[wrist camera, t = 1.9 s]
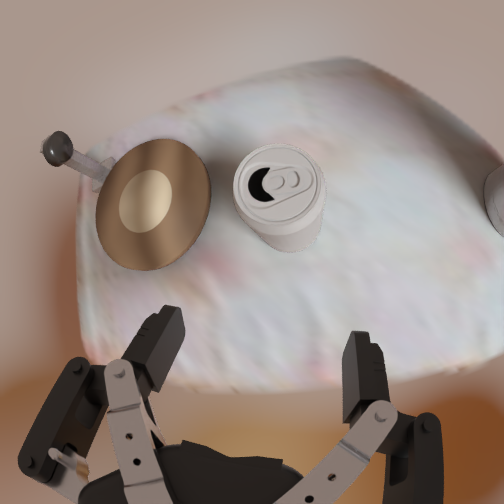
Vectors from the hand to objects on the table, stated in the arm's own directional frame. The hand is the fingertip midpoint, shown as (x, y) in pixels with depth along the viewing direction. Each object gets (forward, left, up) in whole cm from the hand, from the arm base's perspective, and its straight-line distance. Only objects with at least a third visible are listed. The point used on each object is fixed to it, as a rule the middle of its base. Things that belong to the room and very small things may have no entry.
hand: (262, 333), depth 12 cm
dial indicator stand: (+21, -23, -16) cm, 35 cm away
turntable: (+13, -15, -14) cm, 24 cm away
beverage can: (-2, -8, -16) cm, 18 cm away
